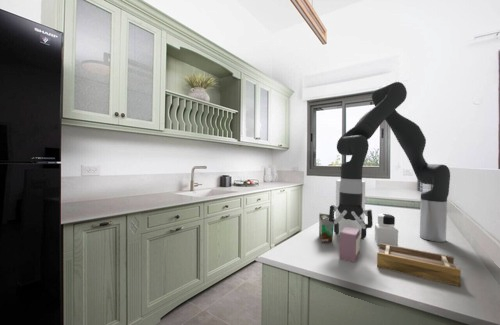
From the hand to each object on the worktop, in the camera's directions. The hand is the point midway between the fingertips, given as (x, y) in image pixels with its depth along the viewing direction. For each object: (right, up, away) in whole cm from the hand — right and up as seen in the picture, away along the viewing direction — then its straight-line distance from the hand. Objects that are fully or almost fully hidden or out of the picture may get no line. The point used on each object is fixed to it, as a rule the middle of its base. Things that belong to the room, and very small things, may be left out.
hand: (349, 236), depth 83 cm
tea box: (0, -7, 0) cm, 7 cm away
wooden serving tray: (+16, -7, -10) cm, 20 cm away
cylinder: (+11, -7, +25) cm, 28 cm away
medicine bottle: (+21, -7, +13) cm, 25 cm away
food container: (-2, -7, +16) cm, 18 cm away
